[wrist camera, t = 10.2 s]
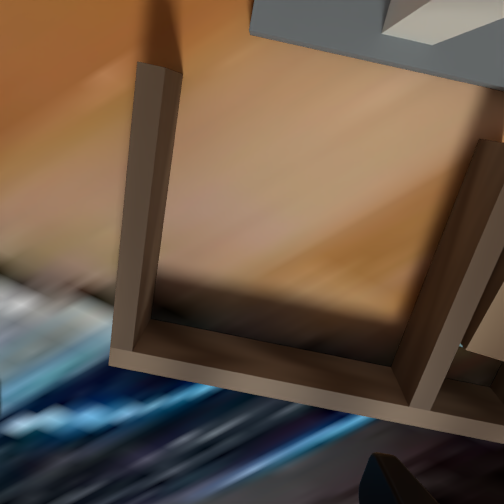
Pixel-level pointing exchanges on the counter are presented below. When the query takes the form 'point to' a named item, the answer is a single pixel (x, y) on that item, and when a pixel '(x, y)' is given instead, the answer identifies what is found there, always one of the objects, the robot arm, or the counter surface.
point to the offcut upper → (488, 318)
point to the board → (439, 18)
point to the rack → (298, 360)
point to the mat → (381, 38)
